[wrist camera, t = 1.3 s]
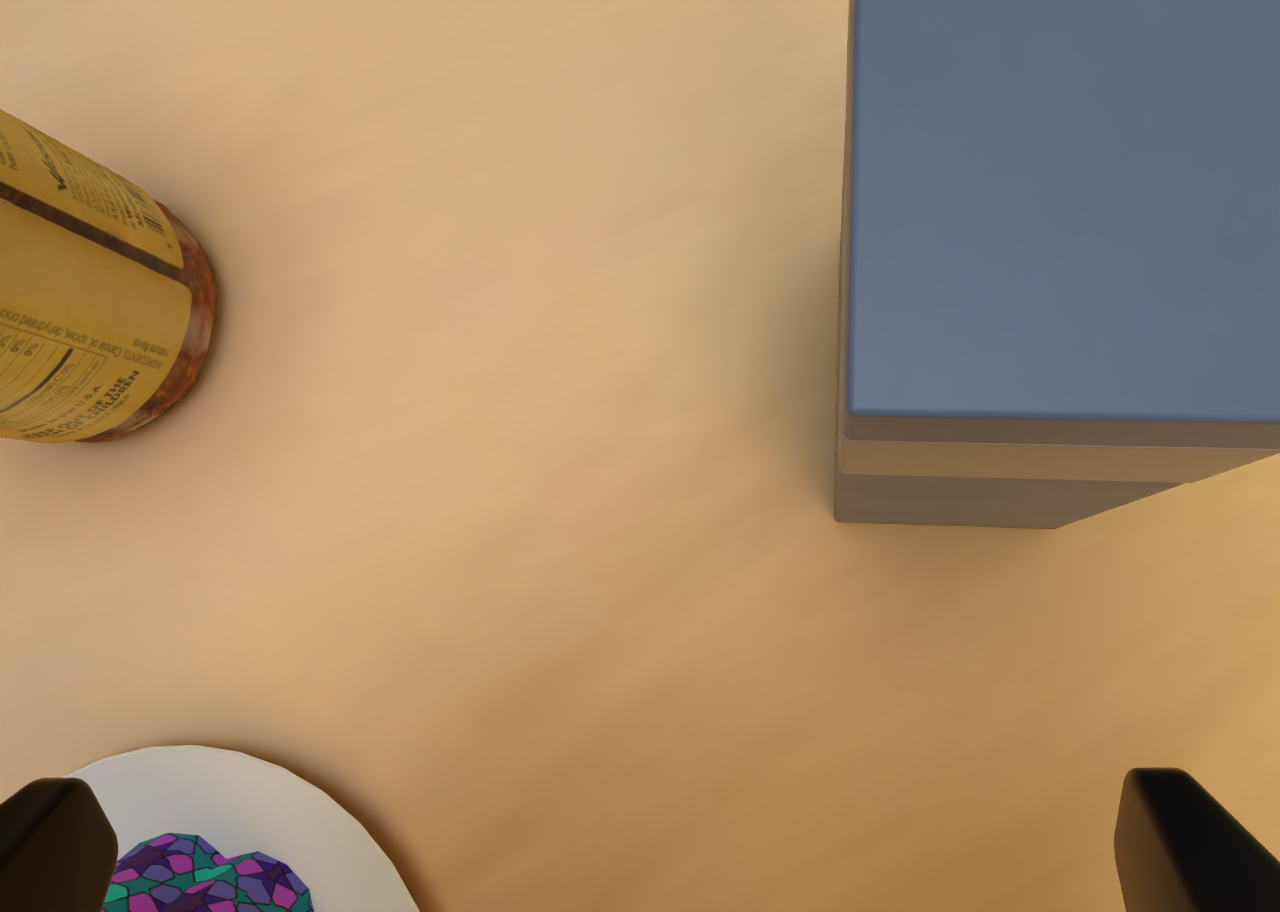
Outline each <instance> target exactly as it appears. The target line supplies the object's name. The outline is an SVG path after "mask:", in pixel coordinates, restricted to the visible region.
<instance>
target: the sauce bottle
mask: <svg viewBox="0 0 1280 912" xmlns="http://www.w3.org/2000/svg"><path fill="white" fill-rule="evenodd" d="M216 302H217V301H216V285H215V282H214V278H213V275H212V270H211V267H210V265H209V262H208V259H207V257H206V255H205V254H204V252H203V251H202V249H201V246H200V244H199V243H198V242H197V241H196V240H195V239H194V238H193V237H192V236H191V235H190V233H189V232H188V231H187V230H186V229H185V227H184V226H183V225H182V224H181V222H180V221H179V220H178V219H177V218H176V217H174V216H173V215H172V214H171V213H170V211H169V210H168V209H167V208H166V207H165V206H164V205H162V204H160V203H158V202H156V201H154V200H153V199H152V198H151V197H150V196H149V195H148V194H147V193H146V192H145V191H143V190H142V189H141V188H140V187H138V186H136V185H135V184H133V183H131V182H130V181H128V180H126V179H125V178H123V177H121V176H120V175H118V174H116V173H115V172H113V171H111V170H109V169H107V168H105V167H103V166H102V165H100V164H98V163H96V162H94V161H93V160H91V159H89V158H87V157H86V156H84V155H82V154H80V153H79V152H77V151H75V150H73V149H71V148H70V147H68V146H66V145H64V144H62V143H61V142H59V141H57V140H55V139H53V138H52V137H50V136H48V135H46V134H44V133H43V132H41V131H39V130H37V129H35V128H34V127H32V126H30V125H28V124H26V123H25V122H23V121H21V120H19V119H17V118H16V117H14V116H12V115H10V114H8V113H6V112H5V111H3V110H1V109H0V437H4V438H11V439H17V440H24V441H31V442H41V443H59V442H68V441H78V442H89V443H96V442H104V441H108V440H111V439H114V438H116V437H118V436H120V435H123V434H125V433H127V432H130V431H134V430H135V429H136V428H138V427H141V426H143V425H145V424H147V423H148V422H150V421H151V420H153V419H155V418H156V417H157V416H159V415H160V414H162V413H164V412H166V411H167V410H169V409H171V408H172V405H173V403H175V402H177V401H178V400H179V399H181V398H182V397H184V396H185V394H186V393H187V392H188V391H189V390H190V388H191V387H192V386H193V385H194V384H195V383H196V382H197V379H198V375H199V372H200V370H201V367H202V365H203V362H204V360H205V357H206V355H207V353H208V349H209V343H210V339H211V333H212V329H213V324H214V308H215V305H216Z"/></svg>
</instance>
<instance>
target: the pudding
mask: <svg viewBox="0 0 1280 912" xmlns="http://www.w3.org/2000/svg"><path fill="white" fill-rule="evenodd" d="M62 778H80V779H82V780H83V781H85V782H86V783H88V785H89V786H90V787H91V789H92V791H93V793H94V794H95V796H96V798H97V800H98V802H99V804H100V805H101V807H102V809H103V811H104V813H105V815H106V816H107V818H108V820H109V822H110V824H111V826H112V827H113V829H114V831H115V833H116V836H117V840H118V858H117V863H116V867H115V870H114V873H113V876H112V879H111V883H110V886H109V889H108V892H107V895H106V898H105V901H104V904H103V907H102V910H101V912H419V909H418V907H417V906H416V904H415V902H414V900H413V898H412V897H411V895H410V893H409V891H408V890H407V888H406V886H405V884H404V882H403V881H402V879H401V877H400V875H399V873H398V872H397V870H396V868H395V866H394V865H393V863H392V862H391V860H390V859H389V858H388V857H387V856H386V854H385V853H384V852H383V851H382V849H381V848H380V847H379V846H378V844H377V843H376V842H375V841H374V839H373V838H372V837H371V836H370V835H369V833H368V832H367V831H366V830H365V828H364V827H363V826H362V825H361V823H359V822H358V821H357V820H356V819H355V818H354V817H352V816H351V815H350V814H349V813H348V812H347V811H346V810H344V809H343V808H342V807H341V806H340V805H339V804H337V803H336V802H335V801H334V800H333V799H332V798H331V797H329V796H328V795H327V794H326V793H325V792H324V791H322V790H320V789H319V788H317V787H315V786H314V785H312V784H310V783H308V782H307V781H305V780H303V779H302V778H300V777H298V776H297V775H295V774H293V773H291V772H290V771H288V770H286V769H285V768H283V767H280V766H278V765H275V764H272V763H269V762H266V761H264V760H261V759H258V758H255V757H252V756H250V755H247V754H244V753H241V752H238V751H231V750H225V749H218V748H211V747H205V746H198V745H180V746H158V747H146V748H142V749H138V750H134V751H130V752H126V753H122V754H117V755H113V756H109V757H105V758H103V759H101V760H98V761H96V762H94V763H92V764H90V765H87V766H85V767H83V768H81V769H78V770H76V771H74V772H72V773H70V774H67V775H65V776H63V777H62Z"/></svg>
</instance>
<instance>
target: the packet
mask: <svg viewBox="0 0 1280 912" xmlns="http://www.w3.org/2000/svg"><path fill="white" fill-rule="evenodd" d="M1278 453H1280V0H849V18H848V43H847V84H846V124H845V147H844V170H843V193H842V216H841V240H840V280H839V323H838V367H837V411H836V454H835V498H834V519H835V521H837V522H854V523H884V524H915V525H946V526H976V527H1007V528H1037V529H1055V528H1058V527H1061V526H1064V525H1067V524H1070V523H1072V522H1075V521H1078V520H1081V519H1084V518H1087V517H1090V516H1093V515H1095V514H1098V513H1101V512H1104V511H1107V510H1110V509H1113V508H1116V507H1118V506H1121V505H1124V504H1127V503H1130V502H1133V501H1136V500H1138V499H1141V498H1144V497H1147V496H1150V495H1153V494H1156V493H1159V492H1161V491H1164V490H1167V489H1170V488H1173V487H1176V486H1179V485H1182V484H1184V483H1193V482H1196V481H1199V480H1202V479H1205V478H1208V477H1211V476H1214V475H1217V474H1219V473H1222V472H1225V471H1228V470H1231V469H1234V468H1237V467H1240V466H1243V465H1246V464H1249V463H1252V462H1254V461H1257V460H1260V459H1263V458H1266V457H1269V456H1272V455H1275V454H1278Z"/></svg>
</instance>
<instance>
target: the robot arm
mask: <svg viewBox="0 0 1280 912" xmlns="http://www.w3.org/2000/svg"><path fill="white" fill-rule="evenodd" d="M1114 849H1115V859H1116V865H1117V870H1118V875H1119V880H1120V884H1121V889H1122V894H1123V898H1124V903H1125V908H1126V912H1280V862H1279V861H1278V860H1277V859H1276V858H1275V857H1274V856H1273V855H1272V854H1271V853H1270V852H1269V851H1268V850H1267V849H1266V848H1265V847H1264V846H1263V845H1262V844H1261V843H1260V842H1259V841H1257V840H1256V839H1255V838H1254V837H1253V836H1252V835H1251V834H1250V833H1249V832H1248V831H1247V830H1246V829H1245V828H1244V827H1243V826H1242V825H1241V824H1240V823H1239V822H1238V821H1237V820H1236V819H1235V818H1234V817H1233V816H1232V815H1231V814H1230V813H1229V812H1228V811H1227V810H1226V809H1225V808H1224V807H1223V806H1222V805H1221V804H1220V803H1219V802H1217V801H1216V800H1215V799H1214V798H1213V797H1212V796H1211V795H1210V794H1209V793H1208V792H1207V791H1206V790H1205V789H1204V788H1203V787H1202V786H1201V785H1200V784H1199V783H1198V782H1197V781H1196V780H1195V779H1194V778H1193V777H1192V776H1191V775H1189V774H1188V773H1187V772H1185V771H1183V770H1181V769H1179V768H1134V769H1131V770H1130V771H1128V773H1127V775H1126V776H1125V779H1124V783H1123V789H1122V794H1121V800H1120V806H1119V811H1118V817H1117V823H1116V829H1115V836H1114ZM117 858H118V840H117V836H116V833H115V831H114V829H113V827H112V826H111V824H110V822H109V820H108V818H107V816H106V815H105V813H104V811H103V809H102V807H101V805H100V804H99V802H98V800H97V798H96V796H95V794H94V793H93V791H92V789H91V787H90V786H89V785H88V783H86V782H85V781H83V780H82V779H80V778H41V779H38V780H35V781H33V782H31V783H29V784H28V785H26V786H25V787H23V788H22V789H21V790H19V791H18V792H17V793H15V794H14V795H13V796H11V797H10V798H8V799H7V800H6V801H4V802H3V803H2V804H0V912H101V910H102V907H103V904H104V901H105V898H106V895H107V892H108V889H109V886H110V883H111V879H112V876H113V873H114V870H115V867H116V863H117Z"/></svg>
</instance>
